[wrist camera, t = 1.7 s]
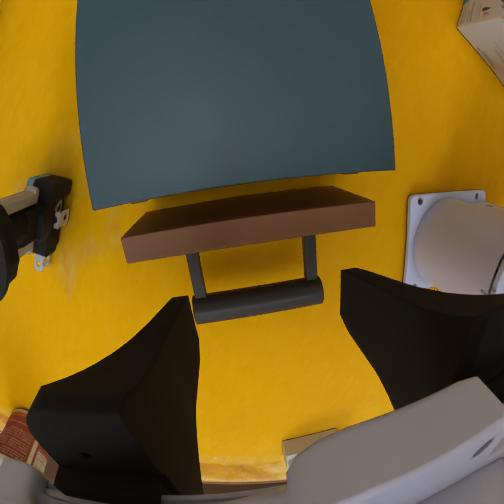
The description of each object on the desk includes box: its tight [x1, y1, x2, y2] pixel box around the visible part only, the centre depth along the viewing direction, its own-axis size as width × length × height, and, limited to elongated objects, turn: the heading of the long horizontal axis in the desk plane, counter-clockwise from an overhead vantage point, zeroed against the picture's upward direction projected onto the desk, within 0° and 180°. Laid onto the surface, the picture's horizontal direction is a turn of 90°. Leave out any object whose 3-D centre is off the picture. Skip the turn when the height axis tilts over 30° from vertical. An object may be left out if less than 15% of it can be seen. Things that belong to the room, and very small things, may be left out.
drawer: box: [121, 172, 375, 324], centre depth 14 cm, size 18×11×5 cm, turn 7°
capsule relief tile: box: [282, 429, 337, 469], centre depth 26 cm, size 6×3×4 cm, turn 97°
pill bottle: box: [0, 409, 49, 473], centre depth 18 cm, size 6×6×11 cm
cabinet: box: [75, 0, 395, 210], centre depth 12 cm, size 15×13×7 cm
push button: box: [0, 174, 72, 301], centre depth 12 cm, size 7×5×10 cm
